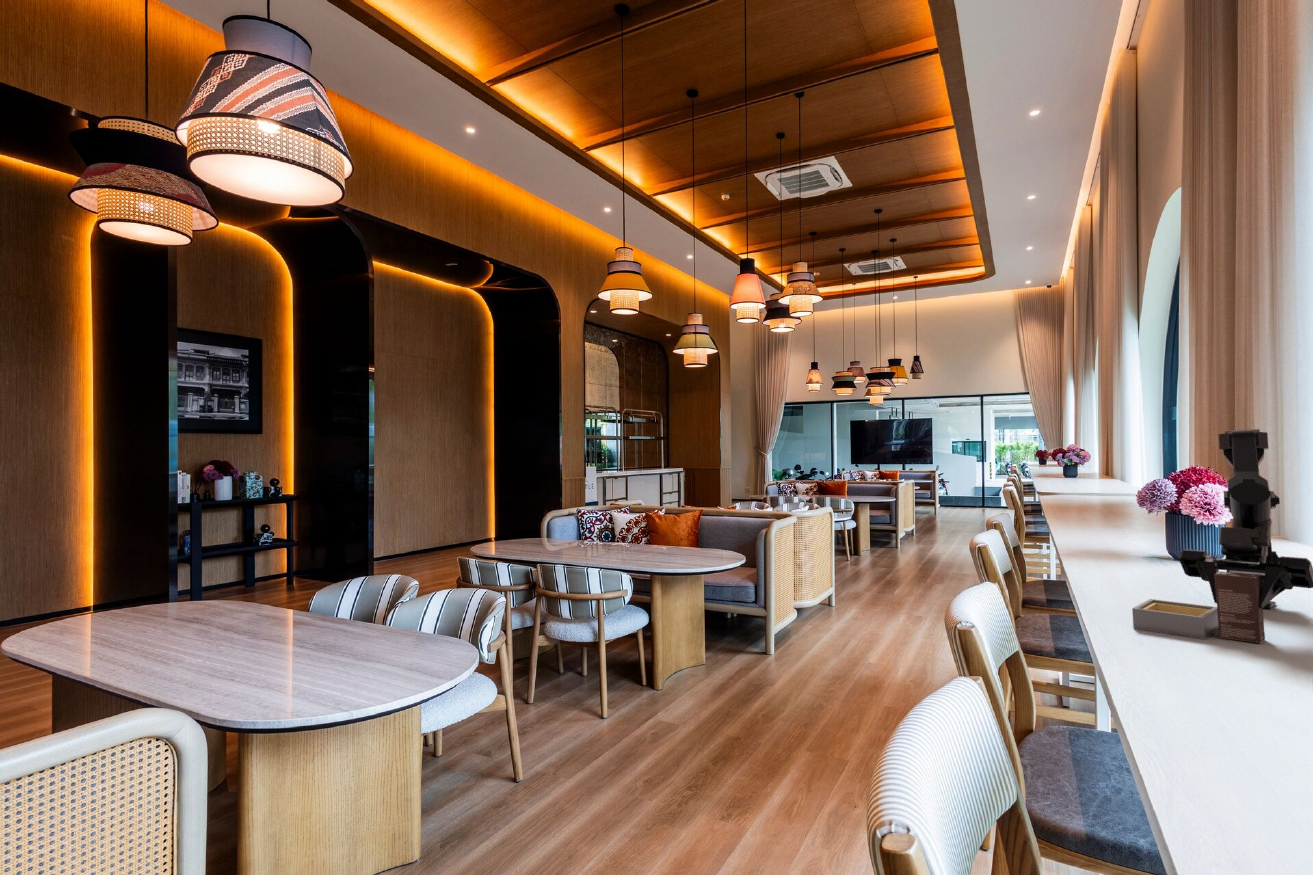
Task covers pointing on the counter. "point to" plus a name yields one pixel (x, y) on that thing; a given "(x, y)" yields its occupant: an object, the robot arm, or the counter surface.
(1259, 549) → the robot arm
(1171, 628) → the tray
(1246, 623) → the box
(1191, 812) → the counter surface
